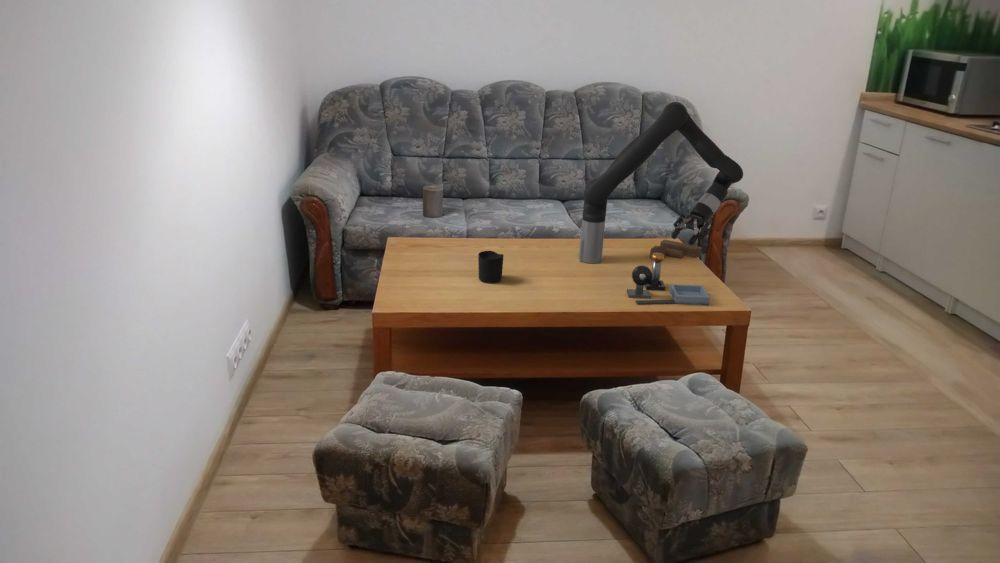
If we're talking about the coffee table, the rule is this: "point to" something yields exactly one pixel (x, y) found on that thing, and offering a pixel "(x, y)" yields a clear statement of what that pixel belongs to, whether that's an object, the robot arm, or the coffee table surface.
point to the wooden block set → (676, 249)
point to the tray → (689, 294)
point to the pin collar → (659, 288)
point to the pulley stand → (640, 282)
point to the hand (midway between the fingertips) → (680, 240)
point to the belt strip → (654, 302)
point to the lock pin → (656, 268)
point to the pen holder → (490, 266)
